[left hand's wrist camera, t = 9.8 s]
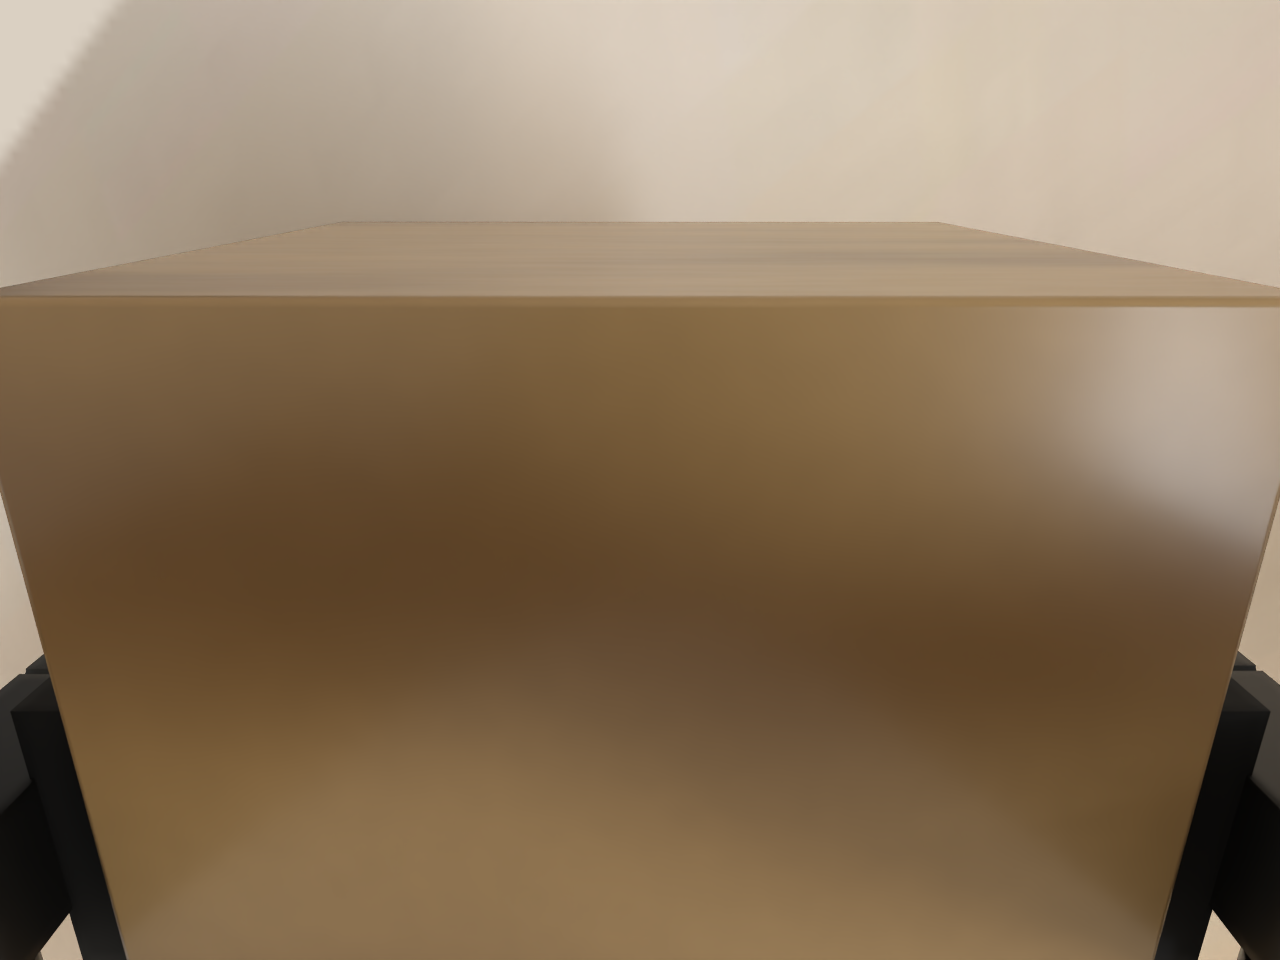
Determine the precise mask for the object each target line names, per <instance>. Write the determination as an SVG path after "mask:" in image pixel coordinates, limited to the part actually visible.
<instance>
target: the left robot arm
mask: <svg viewBox="0 0 1280 960" xmlns="http://www.w3.org/2000/svg"><path fill="white" fill-rule="evenodd" d="M1212 909H1213V911H1214V912H1215V913H1216V915H1217V916H1218V917H1219V919H1220V920H1221V921H1222V922H1223V924H1224V925H1225V926H1226V928H1227V929H1228V930H1229V932H1230V933H1231V934H1232V936H1233V937H1234V938H1235V939H1236V941H1237V942H1238V943H1239V945H1240V946H1241V948H1240V952H1239V955H1238V958H1237V960H1280V685H1279V684H1278V683H1277V682H1275V681H1274V680H1273V679H1272V678H1271V677H1269V676H1268V675H1267V674H1266V673H1264V672H1263V671H1256V665H1255V664H1253V663H1252V662H1251V661H1250V660H1248V659H1247V658H1246V657H1245V656H1244V655H1242V654H1241V653H1240V652H1239V651H1238V652H1237V656H1236V660H1235V663H1234V667H1233V671H1232V674H1231V678H1230V682H1229V685H1228V689H1227V693H1226V696H1225V700H1224V704H1223V708H1222V711H1221V715H1220V719H1219V722H1218V726H1217V730H1216V733H1215V737H1214V741H1213V744H1212V748H1211V752H1210V755H1209V759H1208V763H1207V766H1206V770H1205V774H1204V778H1203V781H1202V785H1201V789H1200V792H1199V796H1198V800H1197V803H1196V807H1195V811H1194V814H1193V818H1192V822H1191V825H1190V829H1189V833H1188V836H1187V840H1186V844H1185V848H1184V851H1183V855H1182V859H1181V862H1180V866H1179V870H1178V873H1177V877H1176V881H1175V884H1174V888H1173V892H1172V895H1171V899H1170V903H1169V907H1168V910H1167V914H1166V918H1165V921H1164V925H1163V929H1162V932H1161V936H1160V940H1159V943H1158V947H1157V951H1156V954H1155V958H1154V960H1198V957H1199V954H1200V950H1201V947H1202V943H1203V940H1204V937H1205V933H1206V930H1207V926H1208V923H1209V920H1210V916H1211V913H1212ZM68 914H70V917H71V920H72V924H73V927H74V931H75V934H76V937H77V941H78V944H79V948H80V951H81V954H82V958H83V960H127V959H126V955H125V952H124V948H123V944H122V940H121V937H120V933H119V929H118V926H117V922H116V918H115V915H114V911H113V907H112V903H111V900H110V896H109V892H108V889H107V885H106V881H105V877H104V874H103V870H102V866H101V863H100V859H99V855H98V852H97V848H96V844H95V840H94V837H93V833H92V829H91V826H90V822H89V818H88V814H87V811H86V807H85V803H84V800H83V796H82V792H81V789H80V785H79V781H78V777H77V774H76V770H75V766H74V763H73V759H72V755H71V752H70V748H69V744H68V740H67V737H66V733H65V729H64V726H63V722H62V718H61V714H60V711H59V707H58V703H57V700H56V696H55V692H54V689H53V685H52V681H51V677H50V674H49V670H48V666H47V663H46V659H45V655H44V654H43V655H42V656H41V657H40V658H38V659H37V660H36V661H35V662H34V663H32V664H31V665H30V666H29V667H27V668H26V673H25V674H19V675H18V676H17V677H15V678H14V679H13V680H12V681H10V682H9V683H8V684H7V685H6V686H4V687H3V688H2V689H1V690H0V960H43V958H42V955H41V952H40V951H41V949H42V948H43V947H44V945H45V944H46V943H47V941H48V940H49V939H50V937H51V936H52V935H53V933H54V932H55V931H56V930H57V928H58V927H59V926H60V924H61V923H62V922H63V920H64V919H65V918H66V916H67V915H68Z"/></svg>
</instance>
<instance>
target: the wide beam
mask: <svg viewBox="0 0 1280 960" xmlns="http://www.w3.org/2000/svg"><path fill="white" fill-rule="evenodd" d="M0 492H1V496H2V500H3V503H4V507H5V511H6V514H7V518H8V522H9V526H10V529H11V533H12V537H13V540H14V544H15V548H16V551H17V555H18V559H19V563H20V566H21V570H22V574H23V577H24V581H25V585H26V589H27V592H28V596H29V600H30V603H31V607H32V611H33V614H34V618H35V622H36V626H37V629H38V633H39V637H40V640H41V644H42V648H43V651H44V655H45V659H46V663H47V666H48V670H49V674H50V677H51V681H52V685H53V689H54V692H55V696H56V700H57V703H58V707H59V711H60V714H61V718H62V722H63V726H64V729H65V733H66V737H67V740H68V744H69V748H70V752H71V755H72V759H73V763H74V766H75V770H76V774H77V777H78V781H79V785H80V789H81V792H82V796H83V800H84V803H85V807H86V811H87V814H88V818H89V822H90V826H91V829H92V833H93V837H94V840H95V844H96V848H97V852H98V855H99V859H100V863H101V866H102V870H103V874H104V877H105V881H106V885H107V889H108V892H109V896H110V900H111V903H112V907H113V911H114V915H115V918H116V922H117V926H118V929H119V933H120V937H121V940H122V944H123V948H124V952H125V955H126V959H127V960H1154V958H1155V954H1156V951H1157V947H1158V943H1159V940H1160V936H1161V932H1162V929H1163V925H1164V921H1165V918H1166V914H1167V910H1168V907H1169V903H1170V899H1171V895H1172V892H1173V888H1174V884H1175V881H1176V877H1177V873H1178V870H1179V866H1180V862H1181V859H1182V855H1183V851H1184V848H1185V844H1186V840H1187V836H1188V833H1189V829H1190V825H1191V822H1192V818H1193V814H1194V811H1195V807H1196V803H1197V800H1198V796H1199V792H1200V789H1201V785H1202V781H1203V778H1204V774H1205V770H1206V766H1207V763H1208V759H1209V755H1210V752H1211V748H1212V744H1213V741H1214V737H1215V733H1216V730H1217V726H1218V722H1219V719H1220V715H1221V711H1222V708H1223V704H1224V700H1225V696H1226V693H1227V689H1228V685H1229V682H1230V678H1231V674H1232V671H1233V667H1234V663H1235V660H1236V656H1237V652H1238V649H1239V645H1240V641H1241V637H1242V634H1243V630H1244V626H1245V623H1246V619H1247V615H1248V612H1249V608H1250V604H1251V601H1252V597H1253V593H1254V590H1255V586H1256V582H1257V579H1258V575H1259V571H1260V567H1261V564H1262V560H1263V556H1264V553H1265V549H1266V545H1267V542H1268V538H1269V534H1270V531H1271V527H1272V523H1273V520H1274V516H1275V512H1276V509H1277V505H1278V501H1279V497H1280V288H1276V287H1271V286H1266V285H1261V284H1256V283H1251V282H1245V281H1240V280H1235V279H1230V278H1225V277H1219V276H1214V275H1209V274H1204V273H1199V272H1194V271H1188V270H1183V269H1178V268H1173V267H1168V266H1163V265H1157V264H1152V263H1147V262H1142V261H1137V260H1131V259H1126V258H1121V257H1116V256H1111V255H1106V254H1100V253H1095V252H1090V251H1085V250H1080V249H1074V248H1069V247H1064V246H1059V245H1054V244H1049V243H1043V242H1038V241H1033V240H1028V239H1023V238H1017V237H1012V236H1007V235H1002V234H997V233H992V232H986V231H981V230H976V229H971V228H966V227H961V226H955V225H950V224H945V223H940V222H340V223H334V224H329V225H324V226H319V227H314V228H308V229H303V230H298V231H293V232H288V233H283V234H277V235H272V236H267V237H262V238H257V239H251V240H246V241H241V242H236V243H231V244H226V245H220V246H215V247H210V248H205V249H200V250H194V251H189V252H184V253H179V254H174V255H169V256H163V257H158V258H153V259H148V260H143V261H137V262H132V263H127V264H122V265H117V266H112V267H106V268H101V269H96V270H91V271H86V272H80V273H75V274H70V275H65V276H60V277H55V278H49V279H44V280H39V281H34V282H29V283H23V284H18V285H13V286H8V287H3V288H0Z"/></svg>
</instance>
